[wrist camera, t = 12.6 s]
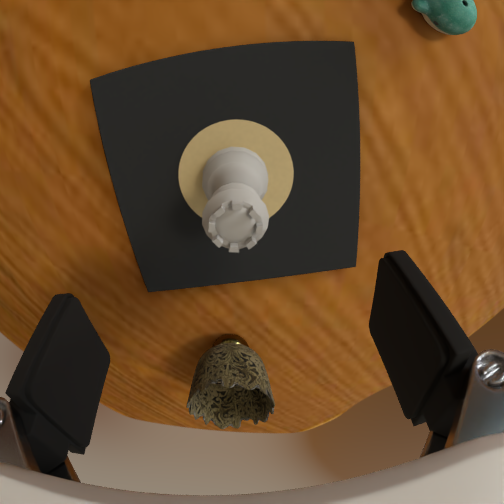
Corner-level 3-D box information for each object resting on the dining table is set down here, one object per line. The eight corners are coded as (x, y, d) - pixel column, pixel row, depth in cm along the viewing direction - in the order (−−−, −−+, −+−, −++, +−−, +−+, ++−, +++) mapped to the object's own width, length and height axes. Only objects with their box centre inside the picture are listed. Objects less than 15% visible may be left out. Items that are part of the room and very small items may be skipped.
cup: (209, 371, 33) (207, 433, 26) (181, 327, 29) (171, 396, 23) (275, 357, 32) (283, 421, 25) (255, 309, 29) (262, 380, 22)
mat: (149, 288, 27) (147, 293, 26) (92, 79, 17) (88, 79, 17) (353, 263, 26) (356, 267, 26) (351, 42, 17) (354, 41, 16)
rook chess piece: (276, 154, 21) (297, 197, 14) (256, 212, 23) (266, 277, 16) (211, 137, 20) (198, 172, 13) (196, 197, 22) (179, 258, 15)
